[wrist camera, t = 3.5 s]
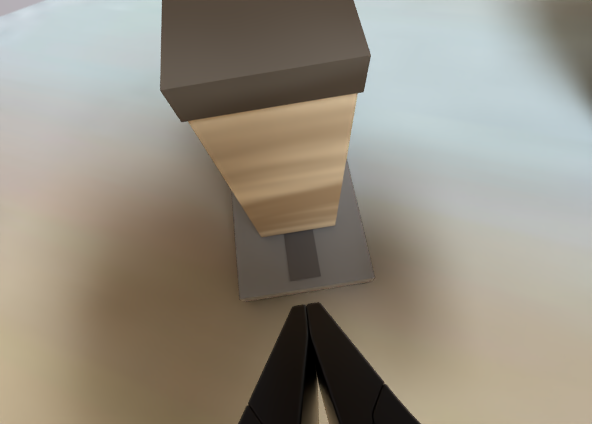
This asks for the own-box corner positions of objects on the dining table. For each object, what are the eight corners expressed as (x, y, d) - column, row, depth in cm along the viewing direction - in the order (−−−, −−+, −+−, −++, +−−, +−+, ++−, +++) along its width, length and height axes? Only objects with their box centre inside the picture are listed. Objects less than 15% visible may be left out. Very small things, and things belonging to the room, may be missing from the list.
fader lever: (337, 226, 16) (370, 55, 6) (259, 239, 16) (160, 89, 6) (326, 174, 17) (338, -46, 7) (254, 186, 17) (162, -16, 7)
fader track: (370, 282, 17) (376, 276, 15) (246, 301, 17) (237, 298, 15) (321, 71, 22) (321, 47, 21) (228, 86, 22) (220, 64, 21)
